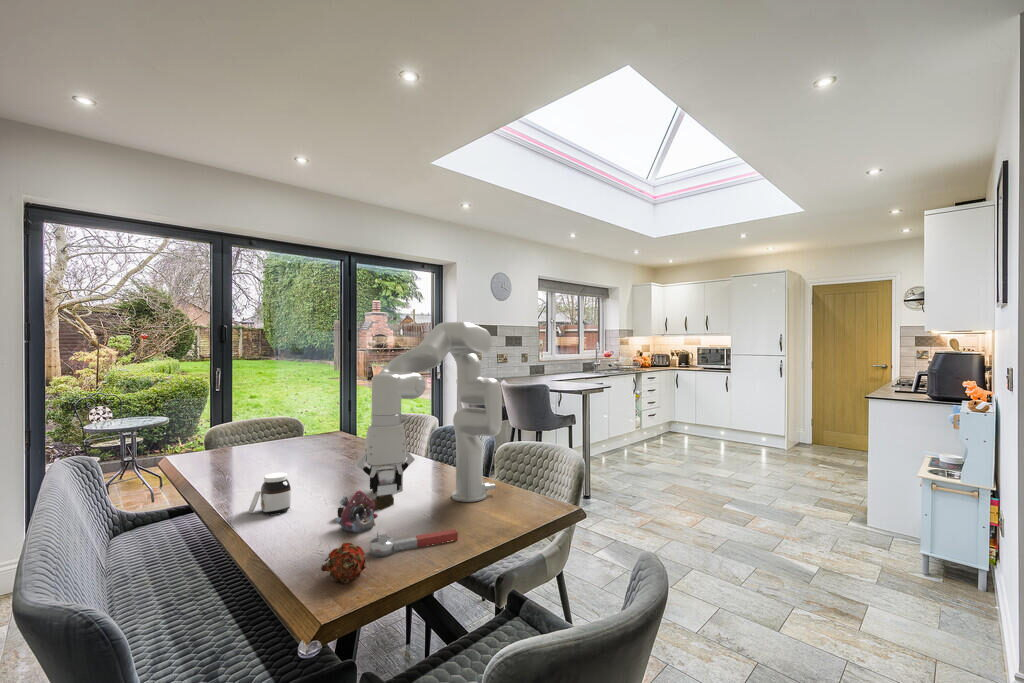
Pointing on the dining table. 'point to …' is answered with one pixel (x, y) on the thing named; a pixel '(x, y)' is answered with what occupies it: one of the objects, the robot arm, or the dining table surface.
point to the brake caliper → (357, 513)
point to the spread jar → (273, 494)
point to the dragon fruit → (345, 563)
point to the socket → (386, 480)
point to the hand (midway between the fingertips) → (385, 489)
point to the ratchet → (408, 542)
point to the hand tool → (376, 503)
